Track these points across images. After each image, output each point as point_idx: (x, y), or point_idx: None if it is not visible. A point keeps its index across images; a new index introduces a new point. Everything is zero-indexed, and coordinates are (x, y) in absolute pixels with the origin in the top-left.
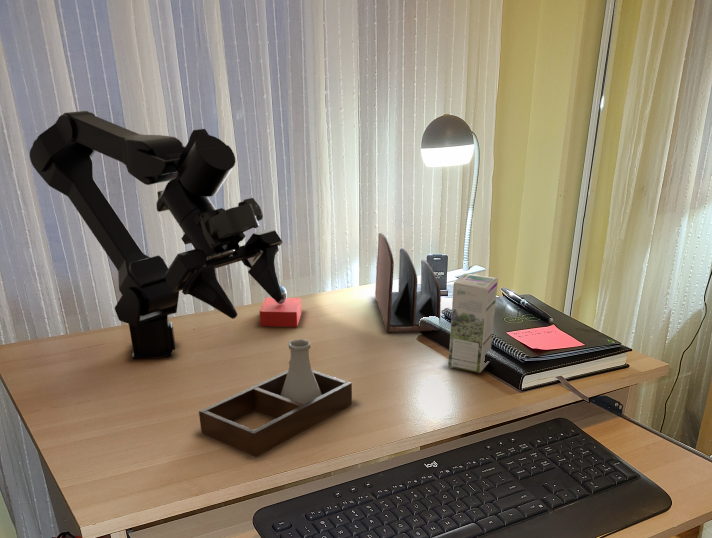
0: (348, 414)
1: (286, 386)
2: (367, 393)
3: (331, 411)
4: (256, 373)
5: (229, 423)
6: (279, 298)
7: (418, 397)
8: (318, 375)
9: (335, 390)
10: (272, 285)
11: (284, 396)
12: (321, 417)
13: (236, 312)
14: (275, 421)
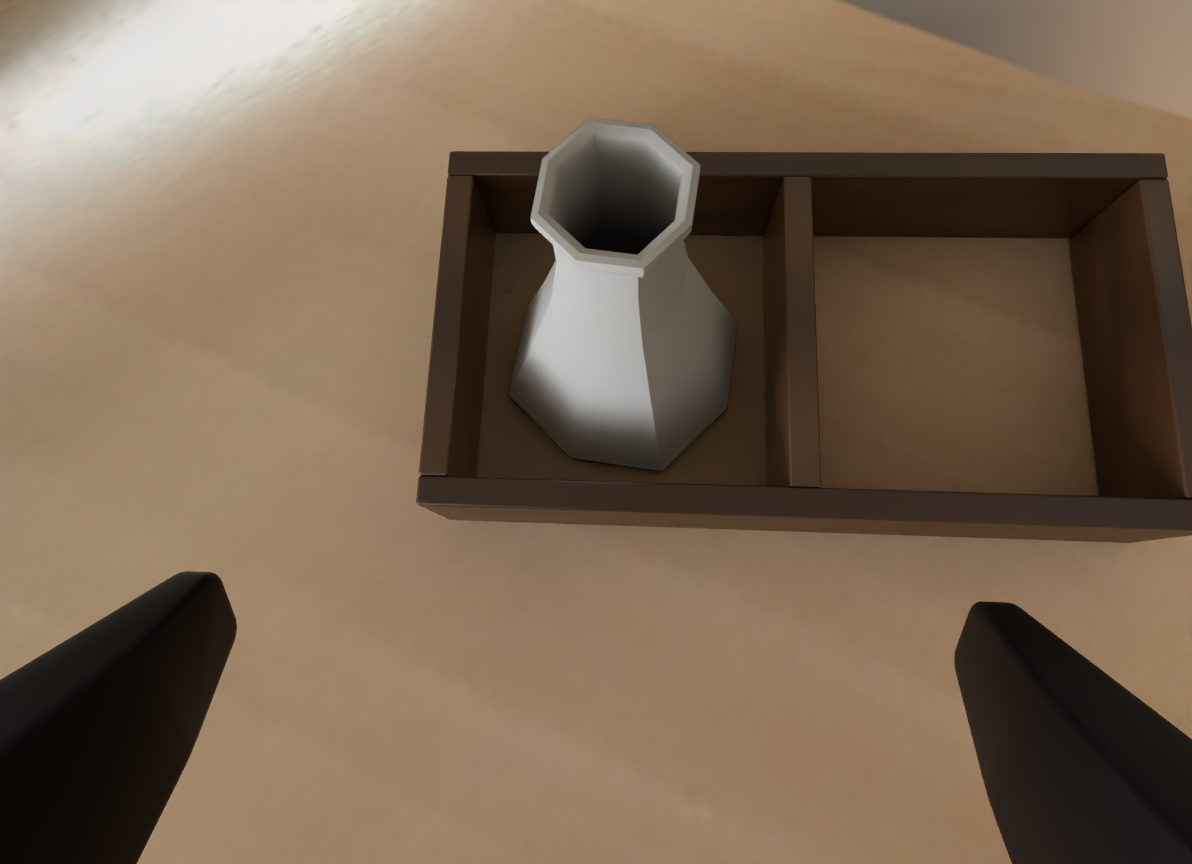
0: None
1: (702, 347)
2: (342, 228)
3: None
4: (445, 829)
5: (1185, 306)
6: (216, 591)
7: (266, 56)
8: (460, 337)
9: None
10: (80, 743)
11: (714, 367)
12: None
13: (997, 610)
14: (1009, 158)
